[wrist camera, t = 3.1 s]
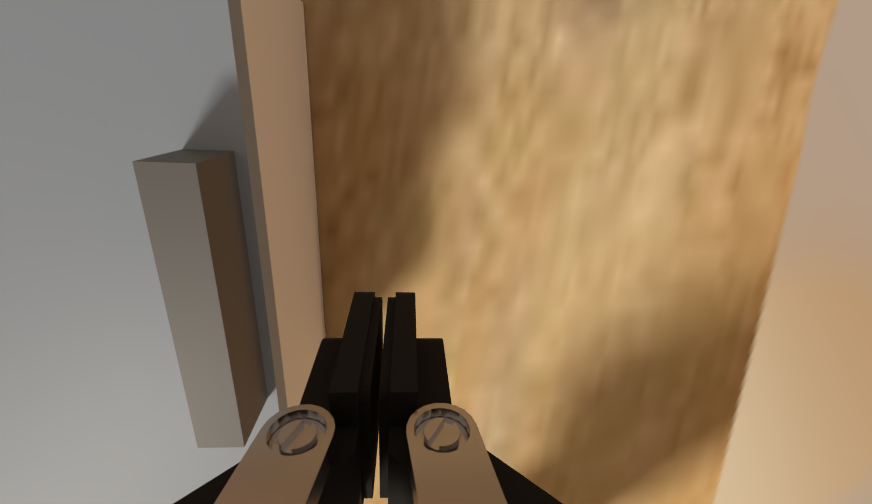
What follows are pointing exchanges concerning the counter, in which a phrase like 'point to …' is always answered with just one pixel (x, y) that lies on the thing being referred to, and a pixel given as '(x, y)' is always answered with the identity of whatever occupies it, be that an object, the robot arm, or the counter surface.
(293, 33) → the mailer box
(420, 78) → the counter surface
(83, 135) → the lid
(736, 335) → the counter surface
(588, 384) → the counter surface
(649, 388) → the counter surface
